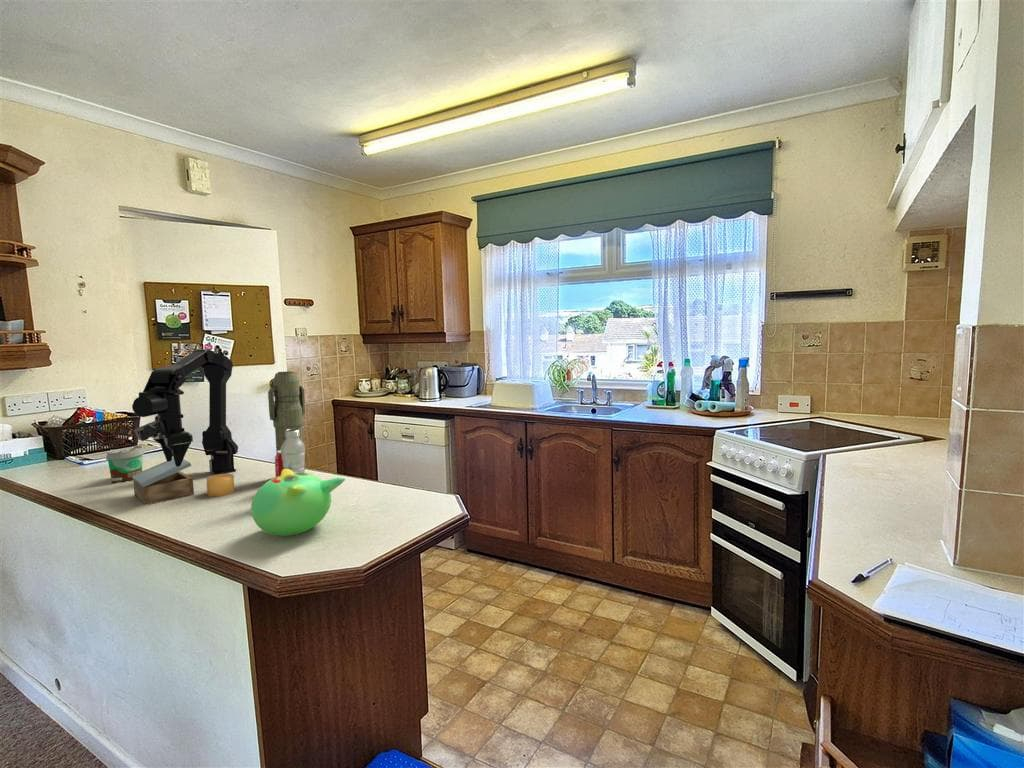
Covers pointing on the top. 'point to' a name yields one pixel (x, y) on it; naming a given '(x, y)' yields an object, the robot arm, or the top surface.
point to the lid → (159, 472)
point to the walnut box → (165, 489)
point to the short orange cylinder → (220, 485)
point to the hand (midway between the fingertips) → (173, 463)
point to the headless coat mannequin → (286, 406)
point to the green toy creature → (292, 502)
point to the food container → (125, 464)
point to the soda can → (278, 463)
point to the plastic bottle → (293, 451)
